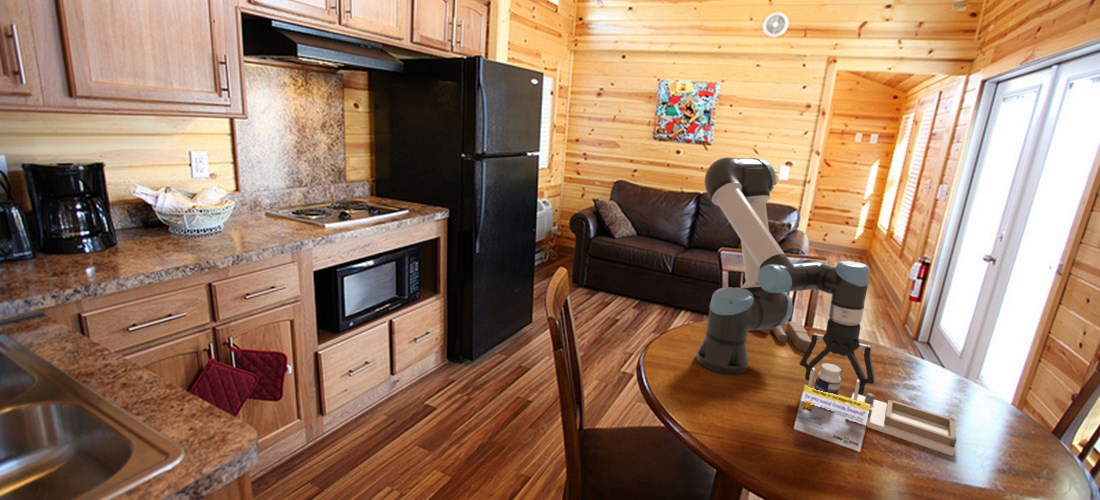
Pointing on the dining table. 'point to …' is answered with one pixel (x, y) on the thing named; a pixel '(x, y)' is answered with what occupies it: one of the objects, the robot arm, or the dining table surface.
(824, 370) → the pill bottle
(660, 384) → the dining table surface
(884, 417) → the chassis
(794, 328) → the wooden block set
